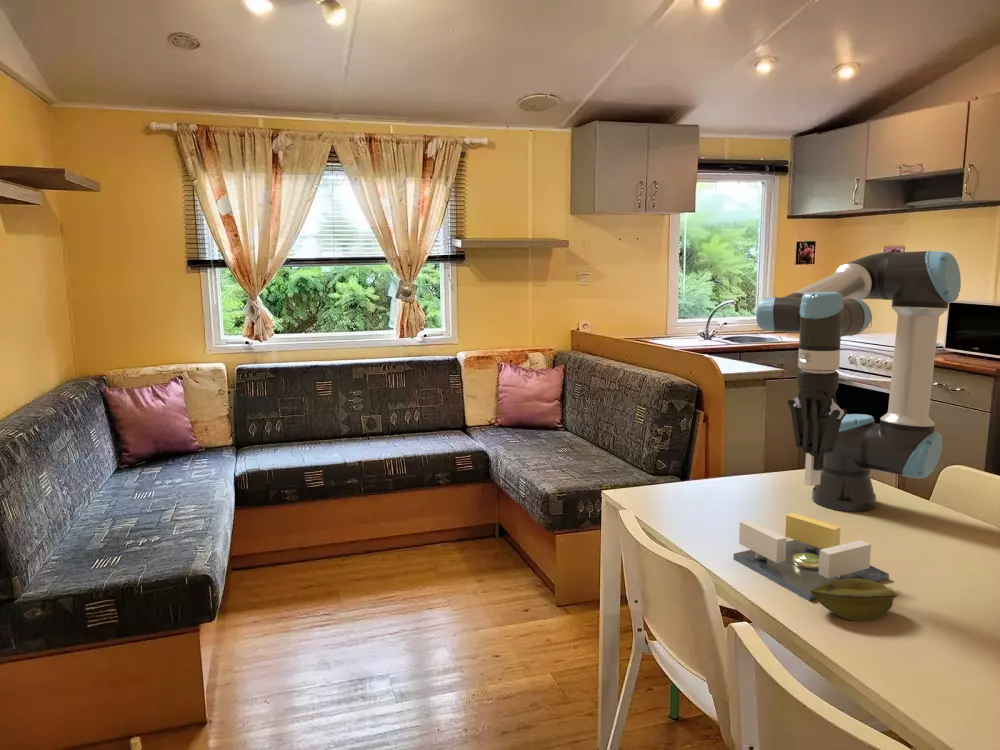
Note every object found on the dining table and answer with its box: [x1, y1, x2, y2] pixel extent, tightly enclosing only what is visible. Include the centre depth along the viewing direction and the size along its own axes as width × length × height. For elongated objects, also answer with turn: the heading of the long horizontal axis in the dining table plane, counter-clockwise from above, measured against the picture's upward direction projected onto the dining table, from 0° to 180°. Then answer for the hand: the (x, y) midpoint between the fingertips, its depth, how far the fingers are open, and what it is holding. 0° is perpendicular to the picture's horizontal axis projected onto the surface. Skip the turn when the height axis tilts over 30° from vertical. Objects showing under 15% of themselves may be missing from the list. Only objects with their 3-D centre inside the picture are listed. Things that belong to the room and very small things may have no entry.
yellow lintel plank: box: [784, 512, 841, 550], centre depth 153 cm, size 11×2×6 cm, turn 36°
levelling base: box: [733, 539, 890, 602], centre depth 147 cm, size 21×21×3 cm
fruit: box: [811, 578, 897, 622], centre depth 129 cm, size 11×12×7 cm
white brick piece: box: [818, 539, 872, 579], centre depth 140 cm, size 11×2×6 cm, turn 113°
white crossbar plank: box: [738, 519, 787, 563], centre depth 149 cm, size 11×2×6 cm, turn 23°
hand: (812, 483), depth 144 cm, fingers closed
